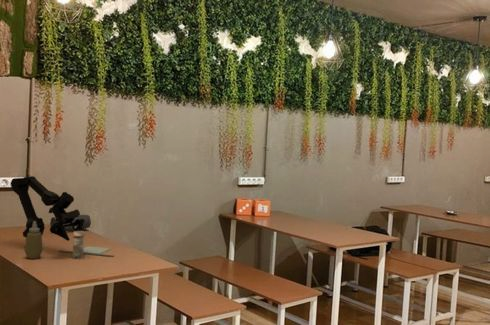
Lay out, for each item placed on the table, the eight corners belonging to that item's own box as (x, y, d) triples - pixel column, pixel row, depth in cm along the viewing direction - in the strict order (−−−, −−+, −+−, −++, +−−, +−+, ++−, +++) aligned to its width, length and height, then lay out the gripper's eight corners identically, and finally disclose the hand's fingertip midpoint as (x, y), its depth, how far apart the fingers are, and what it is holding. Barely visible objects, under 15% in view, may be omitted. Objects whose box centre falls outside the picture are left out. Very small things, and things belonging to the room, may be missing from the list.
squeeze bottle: (25, 260, 250) (26, 222, 249) (23, 256, 257) (25, 220, 256) (43, 259, 253) (44, 222, 252) (41, 255, 260) (42, 219, 260)
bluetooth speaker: (84, 228, 336) (84, 213, 336) (90, 230, 329) (91, 215, 329) (49, 231, 321) (50, 215, 320) (55, 234, 314) (56, 217, 314)
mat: (99, 254, 269) (99, 253, 269) (76, 251, 271) (76, 251, 271) (110, 249, 282) (110, 248, 282) (88, 247, 284) (88, 246, 284)
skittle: (74, 259, 256) (75, 232, 256) (71, 256, 261) (72, 231, 260) (84, 258, 259) (85, 232, 259) (81, 256, 264) (82, 230, 263)
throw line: (58, 251, 270) (58, 251, 270) (60, 250, 272) (60, 250, 272) (112, 257, 265) (112, 256, 265) (114, 256, 267) (114, 255, 267)
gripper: (54, 206, 254) (70, 231, 249) (83, 202, 270) (98, 226, 266) (42, 220, 258) (58, 245, 253) (71, 216, 274) (86, 239, 270)
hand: (76, 238), depth 260 cm, fingers open, 9 cm apart
